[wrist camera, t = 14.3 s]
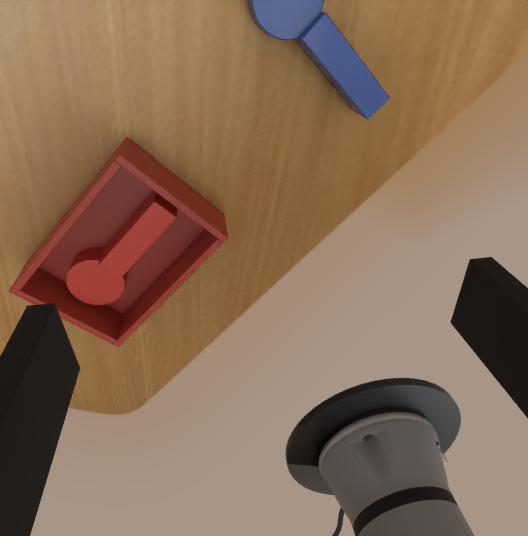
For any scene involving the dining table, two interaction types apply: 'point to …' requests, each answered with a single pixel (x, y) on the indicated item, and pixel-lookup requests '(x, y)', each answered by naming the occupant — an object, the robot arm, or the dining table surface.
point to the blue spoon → (322, 48)
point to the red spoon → (119, 253)
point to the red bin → (102, 231)
